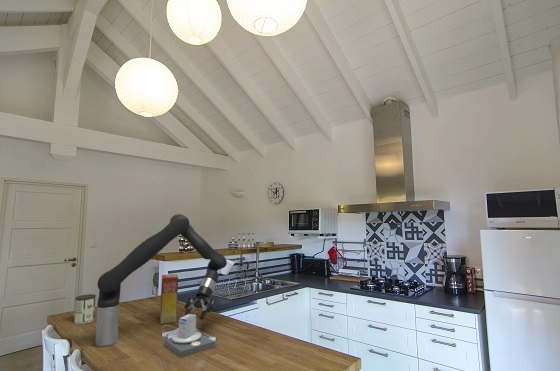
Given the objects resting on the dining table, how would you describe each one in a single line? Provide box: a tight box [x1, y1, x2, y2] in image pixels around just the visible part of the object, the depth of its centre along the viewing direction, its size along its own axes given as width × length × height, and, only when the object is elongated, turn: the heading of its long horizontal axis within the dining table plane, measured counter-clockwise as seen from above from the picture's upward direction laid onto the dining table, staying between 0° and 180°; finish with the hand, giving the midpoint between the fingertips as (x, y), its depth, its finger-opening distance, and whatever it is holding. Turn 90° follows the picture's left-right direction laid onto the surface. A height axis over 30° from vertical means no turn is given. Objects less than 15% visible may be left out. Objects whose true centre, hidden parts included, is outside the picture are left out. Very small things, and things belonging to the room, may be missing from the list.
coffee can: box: [73, 293, 97, 325], centre depth 183 cm, size 10×10×14 cm
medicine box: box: [178, 313, 197, 339], centre depth 146 cm, size 8×4×9 cm, turn 162°
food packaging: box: [159, 273, 179, 325], centre depth 185 cm, size 13×9×25 cm
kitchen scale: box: [163, 330, 216, 358], centre depth 143 cm, size 18×16×4 cm
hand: (193, 318), depth 151 cm, fingers open, 8 cm apart
